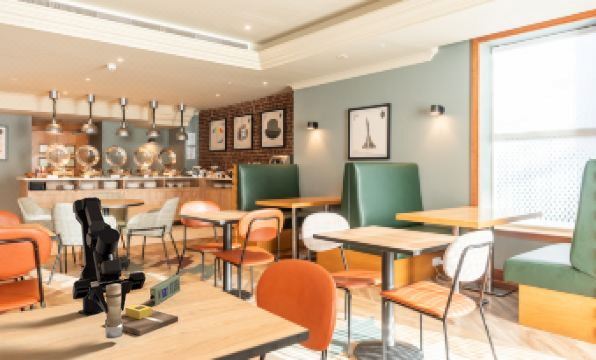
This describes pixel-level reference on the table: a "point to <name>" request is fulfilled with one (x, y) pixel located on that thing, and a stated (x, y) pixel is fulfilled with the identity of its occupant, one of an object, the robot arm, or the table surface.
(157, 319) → the subfloor panel
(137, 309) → the block
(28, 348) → the table surface
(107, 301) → the beige ringed cylinder
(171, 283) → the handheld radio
